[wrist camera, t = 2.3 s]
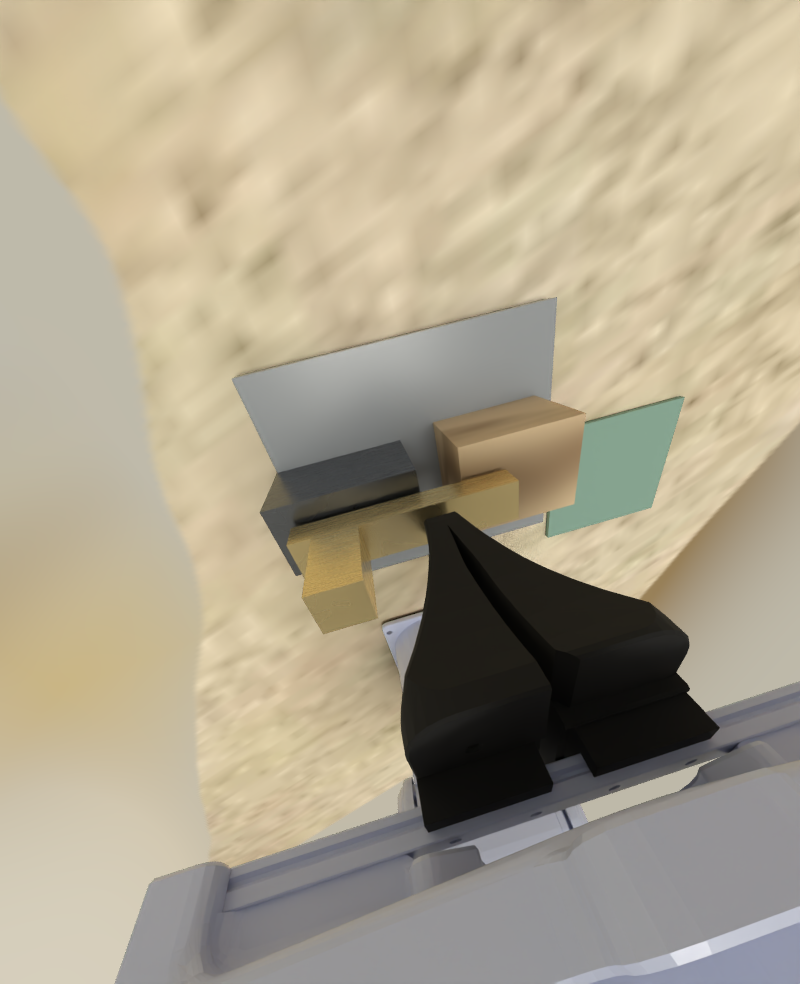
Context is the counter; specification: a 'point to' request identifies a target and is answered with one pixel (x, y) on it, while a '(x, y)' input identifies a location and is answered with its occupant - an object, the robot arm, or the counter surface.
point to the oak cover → (516, 450)
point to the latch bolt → (385, 542)
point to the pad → (619, 465)
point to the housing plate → (388, 413)
